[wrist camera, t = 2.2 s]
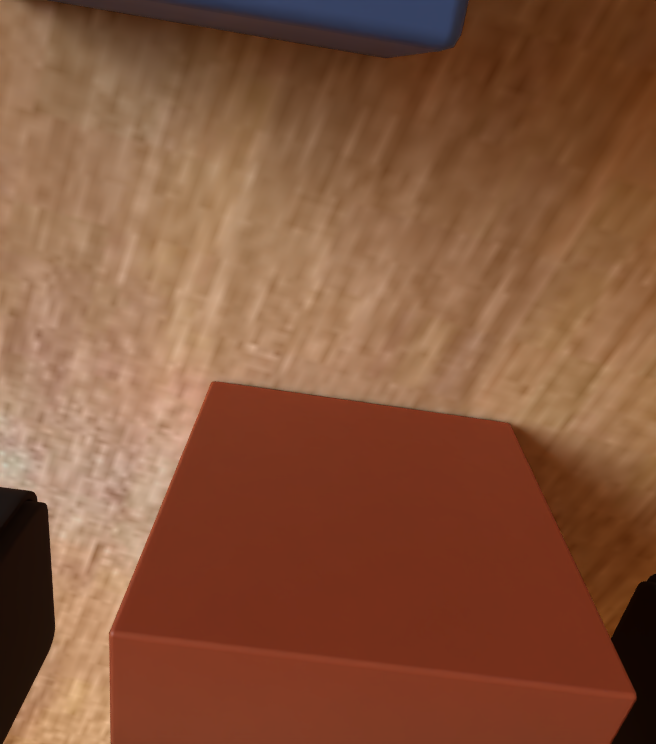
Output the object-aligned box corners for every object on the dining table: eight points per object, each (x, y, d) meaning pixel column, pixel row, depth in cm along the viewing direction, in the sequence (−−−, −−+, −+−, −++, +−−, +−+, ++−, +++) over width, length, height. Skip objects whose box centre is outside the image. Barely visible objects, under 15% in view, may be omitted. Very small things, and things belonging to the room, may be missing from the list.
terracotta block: (211, 379, 10) (106, 634, 6) (510, 422, 10) (640, 697, 6) (195, 600, 12) (111, 908, 8) (441, 630, 12) (497, 946, 8)
